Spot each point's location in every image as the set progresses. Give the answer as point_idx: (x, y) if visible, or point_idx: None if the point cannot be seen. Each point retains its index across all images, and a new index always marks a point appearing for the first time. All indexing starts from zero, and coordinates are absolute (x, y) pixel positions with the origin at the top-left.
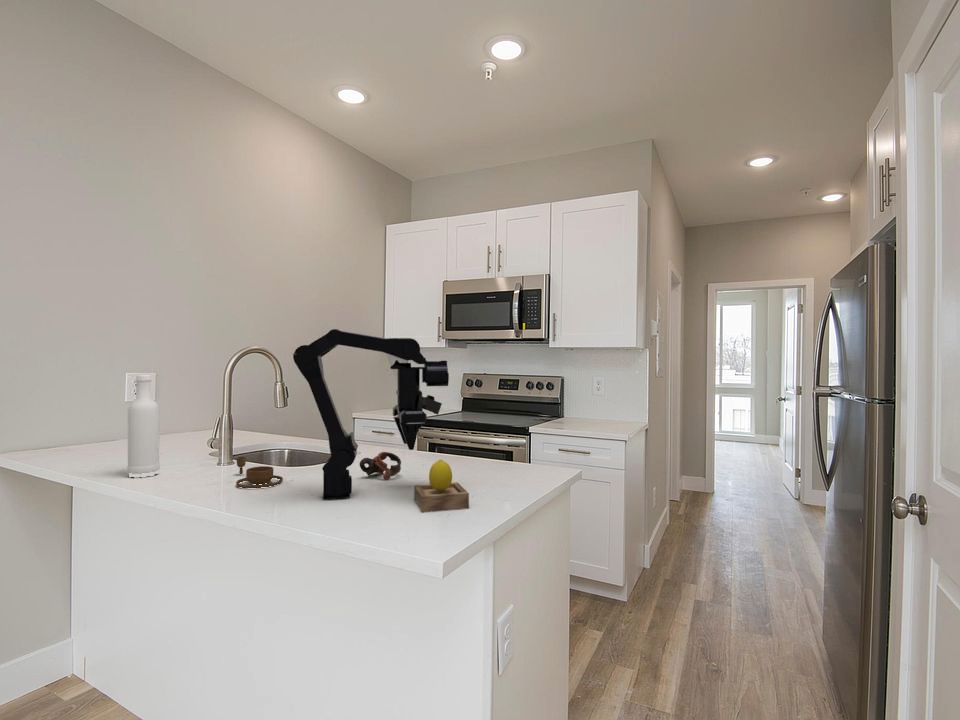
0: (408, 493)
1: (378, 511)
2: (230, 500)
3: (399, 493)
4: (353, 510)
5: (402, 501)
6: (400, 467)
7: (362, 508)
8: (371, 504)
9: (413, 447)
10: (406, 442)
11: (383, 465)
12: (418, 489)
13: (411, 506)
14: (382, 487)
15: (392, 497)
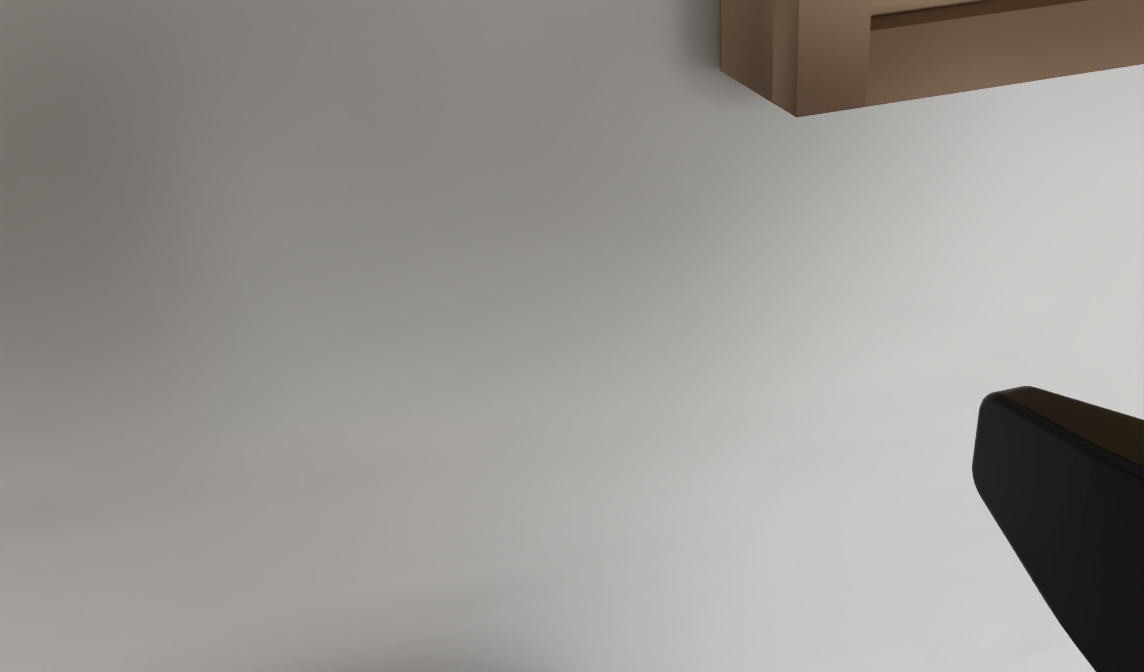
0: (417, 143)
1: None
2: None
3: (401, 257)
4: (901, 589)
5: (760, 208)
6: None
7: (871, 537)
8: (775, 489)
9: (1075, 411)
10: (1114, 670)
11: None
12: (1030, 63)
13: (971, 108)
14: (64, 482)
15: (571, 325)
